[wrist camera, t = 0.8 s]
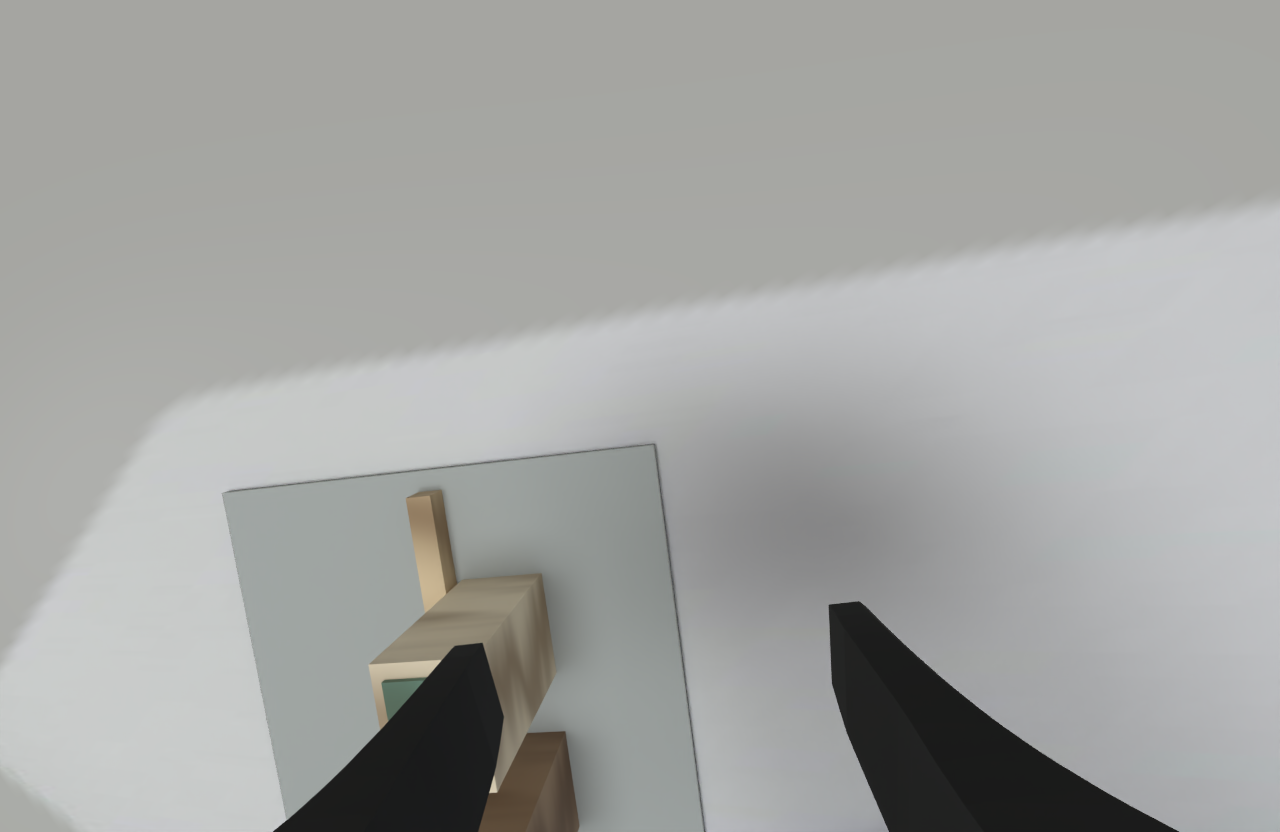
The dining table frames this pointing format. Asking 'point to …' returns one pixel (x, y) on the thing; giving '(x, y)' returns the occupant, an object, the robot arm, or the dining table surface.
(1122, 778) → the dining table surface
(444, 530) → the oak rail
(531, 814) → the walnut block
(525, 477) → the grey mat
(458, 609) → the beech block
